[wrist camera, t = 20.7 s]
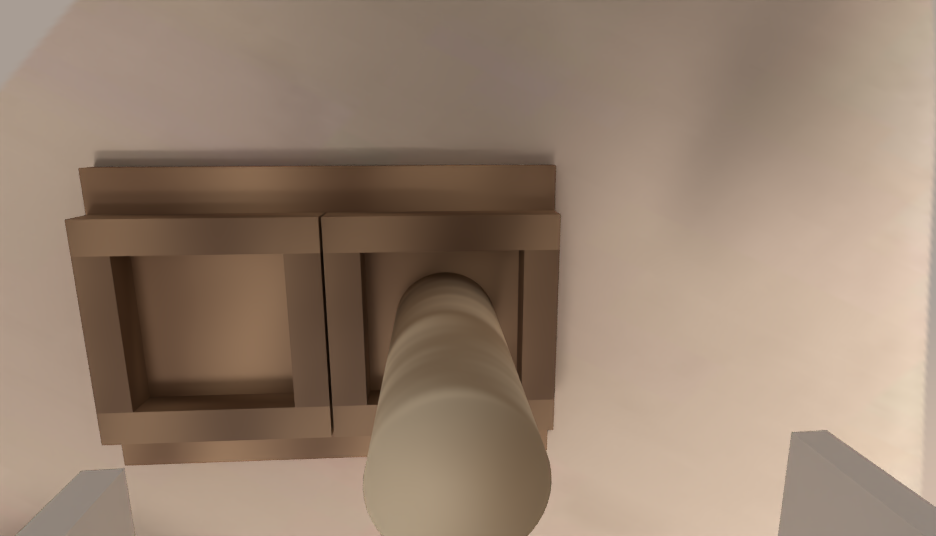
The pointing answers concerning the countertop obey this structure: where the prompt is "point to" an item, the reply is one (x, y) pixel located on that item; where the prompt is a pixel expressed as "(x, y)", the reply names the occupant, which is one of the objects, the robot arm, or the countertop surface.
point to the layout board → (292, 296)
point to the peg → (453, 423)
